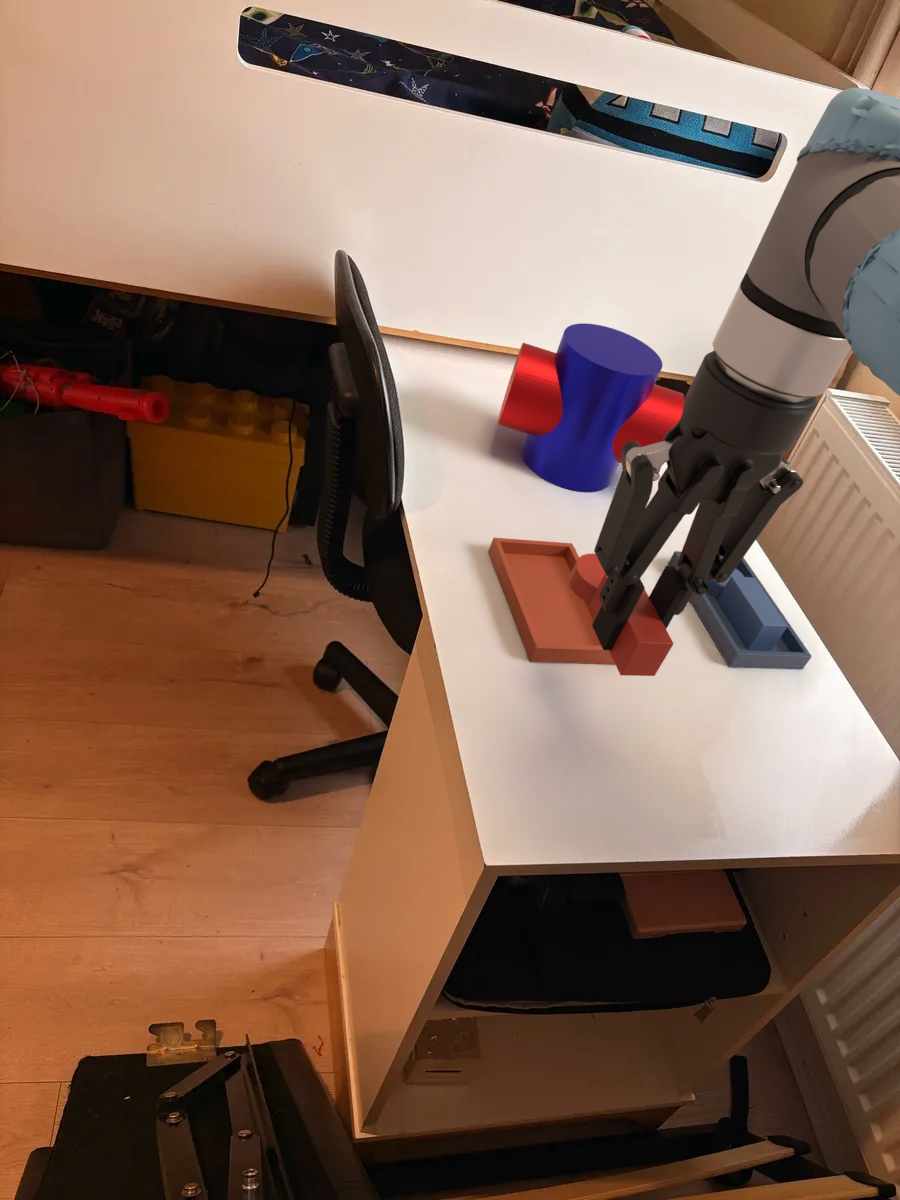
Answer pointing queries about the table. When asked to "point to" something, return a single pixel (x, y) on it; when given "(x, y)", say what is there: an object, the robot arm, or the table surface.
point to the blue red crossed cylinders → (587, 405)
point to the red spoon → (641, 634)
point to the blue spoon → (748, 611)
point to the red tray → (547, 601)
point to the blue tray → (735, 653)
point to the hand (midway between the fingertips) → (622, 638)
